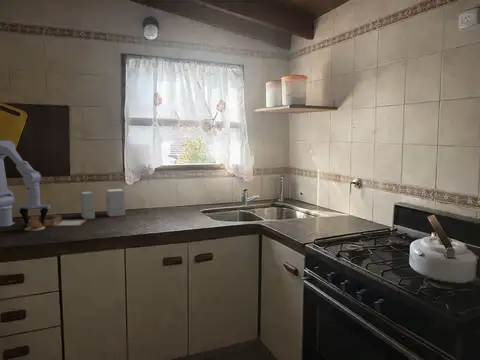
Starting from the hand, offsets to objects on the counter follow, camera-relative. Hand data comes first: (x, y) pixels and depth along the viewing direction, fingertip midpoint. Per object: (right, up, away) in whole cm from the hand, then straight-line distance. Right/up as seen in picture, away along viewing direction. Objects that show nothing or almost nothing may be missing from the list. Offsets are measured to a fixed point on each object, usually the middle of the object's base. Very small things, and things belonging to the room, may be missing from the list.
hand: (34, 223), depth 194 cm
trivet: (0, -3, 0) cm, 3 cm away
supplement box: (+28, +1, +38) cm, 48 cm away
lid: (+12, -2, +13) cm, 18 cm away
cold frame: (0, -2, +11) cm, 11 cm away
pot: (0, -2, +1) cm, 2 cm away
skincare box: (+15, 0, +29) cm, 32 cm away
